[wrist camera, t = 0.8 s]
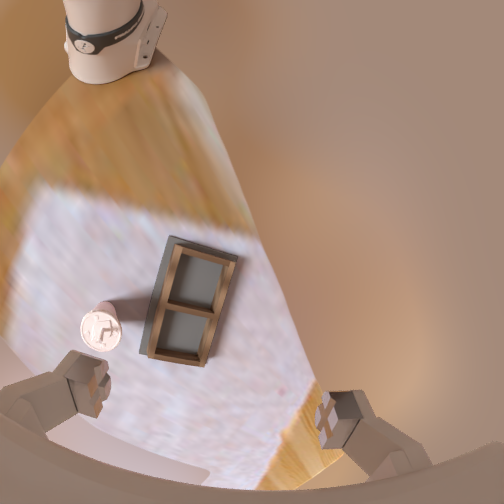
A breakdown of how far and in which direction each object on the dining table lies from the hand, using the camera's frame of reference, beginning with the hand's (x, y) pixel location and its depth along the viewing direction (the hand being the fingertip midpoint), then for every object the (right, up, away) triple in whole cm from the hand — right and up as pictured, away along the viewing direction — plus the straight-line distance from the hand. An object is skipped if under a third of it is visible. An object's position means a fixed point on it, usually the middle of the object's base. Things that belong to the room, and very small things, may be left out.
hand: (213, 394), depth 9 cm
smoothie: (-24, -5, +35) cm, 43 cm away
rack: (-10, -4, +41) cm, 42 cm away
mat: (-10, -4, +41) cm, 42 cm away
